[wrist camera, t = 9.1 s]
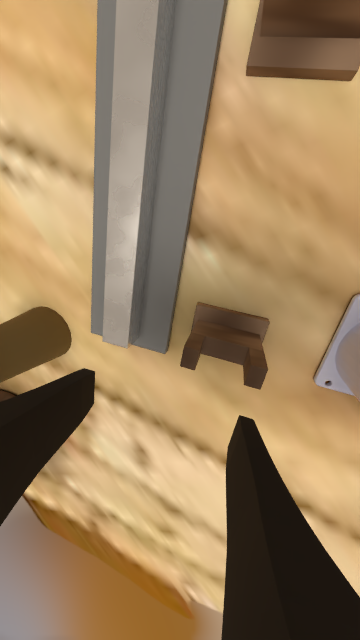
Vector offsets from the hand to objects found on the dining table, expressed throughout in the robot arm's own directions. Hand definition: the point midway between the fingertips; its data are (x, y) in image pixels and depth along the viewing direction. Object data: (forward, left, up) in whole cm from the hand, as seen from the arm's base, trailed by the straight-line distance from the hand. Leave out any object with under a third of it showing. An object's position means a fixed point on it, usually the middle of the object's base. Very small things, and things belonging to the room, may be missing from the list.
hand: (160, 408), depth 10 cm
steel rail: (+6, -10, -10) cm, 15 cm away
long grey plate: (+6, -10, -10) cm, 16 cm away
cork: (+16, +5, -11) cm, 20 cm away
